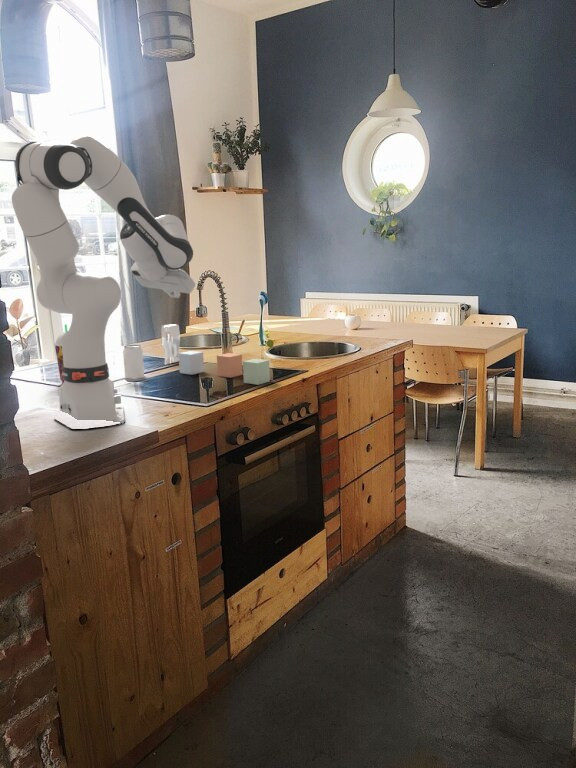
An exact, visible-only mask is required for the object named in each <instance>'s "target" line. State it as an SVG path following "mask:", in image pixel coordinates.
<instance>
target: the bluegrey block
mask: <svg viewBox="0 0 576 768" xmlns="http://www.w3.org/2000/svg"><path fill="white" fill-rule="evenodd" d="M204 361H205V360H204V352H203V351H196V350H195V351H194V350H189V351H188V350H187V351H183V352H179V362H178V366H179V367H178V368H179V373H180V374H185V375H191V376H192V375H197V374H199V373H200V374H201V373H204V372H205V365H204V363H205V362H204Z"/></svg>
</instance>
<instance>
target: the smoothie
mask: <svg viewBox="0 0 576 768" xmlns="http://www.w3.org/2000/svg"><path fill="white" fill-rule="evenodd" d="M67 325H68V324H66V323H65V324H64V332H63V333H61V334H59V335H58V336H57V338H56V340H55V342H54V349H55V355H56V361H57V362H56V363H57V367H58V368H57V369H58V372H59V373H58V374H59V378H60V381H61V383H62V384H63V383H64V379H63V374H62V371H63V370H62V367H63V366H64V363H63V352H62V342H61V340H62V337H63V335H64V334H65V333H66V332H67V331H68V326H67Z"/></svg>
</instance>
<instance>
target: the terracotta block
mask: <svg viewBox="0 0 576 768" xmlns="http://www.w3.org/2000/svg"><path fill="white" fill-rule="evenodd" d="M216 365H217V366H216V367H217V376H218V377H224V378H235V377H239V376H242V375H243V354H239V353H233V352H226V353H223V354H217V355H216ZM243 376H244V375H243Z"/></svg>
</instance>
